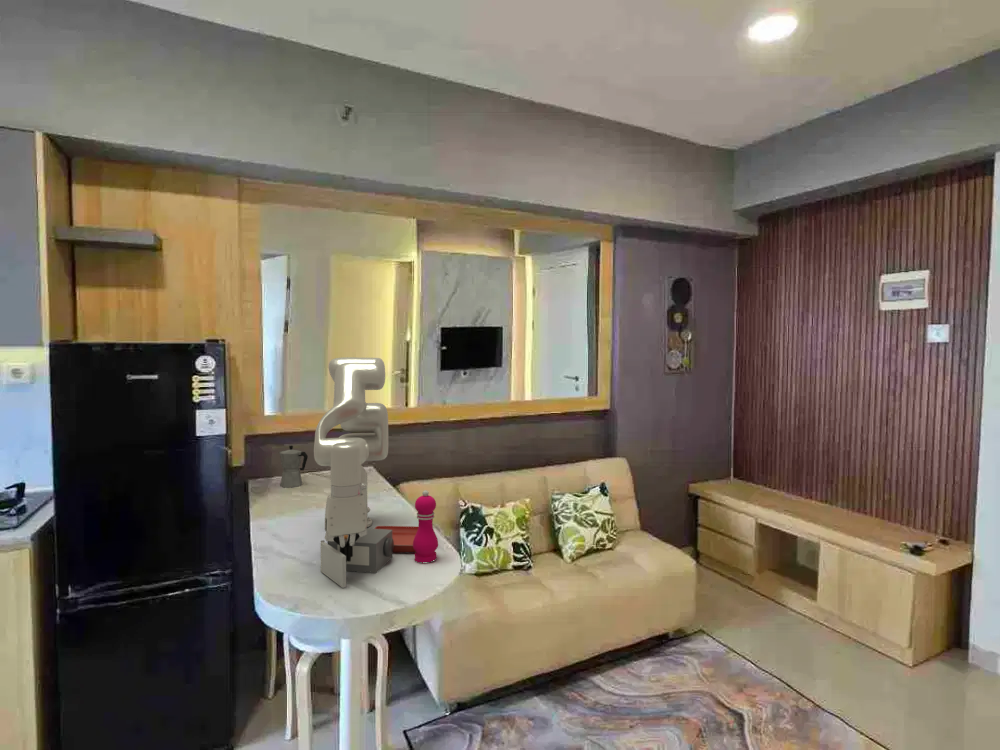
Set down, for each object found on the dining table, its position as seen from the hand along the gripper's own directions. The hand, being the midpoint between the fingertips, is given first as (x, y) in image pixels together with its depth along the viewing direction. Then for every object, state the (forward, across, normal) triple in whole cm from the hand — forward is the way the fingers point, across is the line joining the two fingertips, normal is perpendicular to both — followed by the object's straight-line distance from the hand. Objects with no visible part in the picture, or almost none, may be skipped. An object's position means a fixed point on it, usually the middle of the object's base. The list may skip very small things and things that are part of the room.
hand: (346, 560), depth 144 cm
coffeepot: (+5, -3, -115) cm, 116 cm away
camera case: (+5, -6, -10) cm, 13 cm away
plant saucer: (+6, -21, -20) cm, 29 cm away
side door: (+5, +3, -2) cm, 6 cm away
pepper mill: (+5, -23, -4) cm, 24 cm away
